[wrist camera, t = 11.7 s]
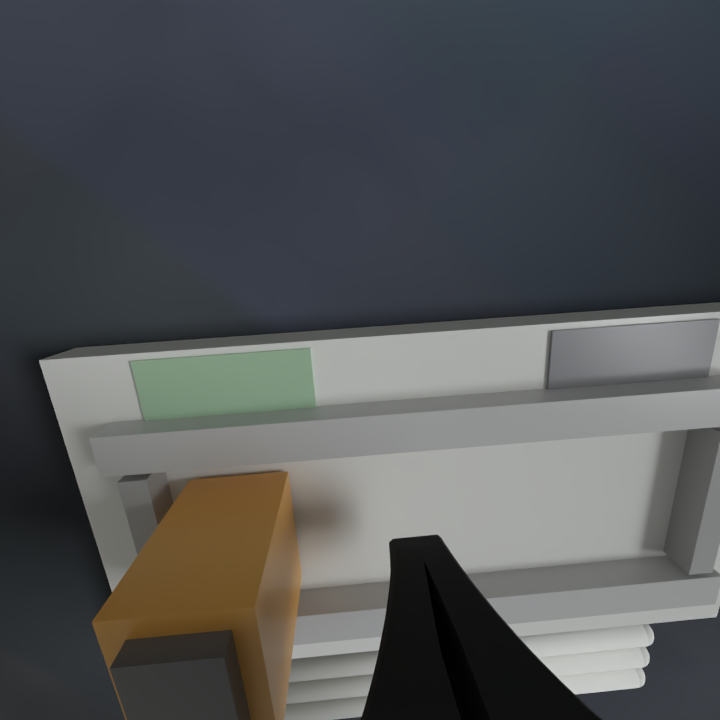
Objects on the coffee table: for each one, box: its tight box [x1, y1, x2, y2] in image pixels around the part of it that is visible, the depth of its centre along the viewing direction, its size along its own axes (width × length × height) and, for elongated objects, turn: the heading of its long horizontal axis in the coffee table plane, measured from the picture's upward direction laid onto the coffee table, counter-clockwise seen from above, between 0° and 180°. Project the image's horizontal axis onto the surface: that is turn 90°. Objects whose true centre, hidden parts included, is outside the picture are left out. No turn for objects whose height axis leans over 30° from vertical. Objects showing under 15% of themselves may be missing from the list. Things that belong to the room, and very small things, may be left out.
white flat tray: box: [39, 302, 720, 659], centre depth 12 cm, size 12×22×2 cm, turn 93°
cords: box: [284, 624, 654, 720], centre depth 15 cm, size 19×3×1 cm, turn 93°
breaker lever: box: [92, 472, 302, 720], centre depth 9 cm, size 4×3×5 cm
